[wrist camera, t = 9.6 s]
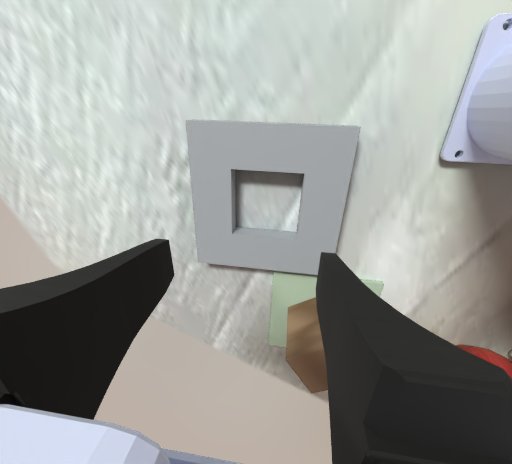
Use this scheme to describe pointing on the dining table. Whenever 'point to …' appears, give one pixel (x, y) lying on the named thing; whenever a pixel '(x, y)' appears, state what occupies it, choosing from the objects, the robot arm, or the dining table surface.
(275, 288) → the felt mat
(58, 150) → the dining table surface
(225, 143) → the pocket board
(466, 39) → the dining table surface
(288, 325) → the walnut block
